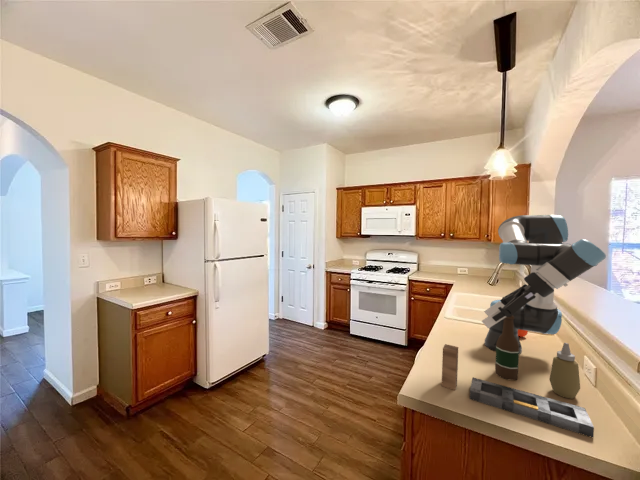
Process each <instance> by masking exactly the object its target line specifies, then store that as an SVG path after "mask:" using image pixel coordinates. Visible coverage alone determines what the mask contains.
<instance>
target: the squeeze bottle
mask: <svg viewBox="0 0 640 480" xmlns="http://www.w3.org/2000/svg"><path fill="white" fill-rule="evenodd" d="M579 367H580V366H579V363H578V362H577V361H576V355H575V354H573V353H572V352H571V348H570V344H569V343H567V342H563V345H562V348H561V350H558V351H557V352H556V356H554V357H553V358H552V364H551V368H550V374H549V380H548V381H549V383H550V385H551V388H552V391H553V392H554V393H555V394H556V395H558V396H560V397H563V398H566V399H572V400H573V399H576V397H577V395H578V393H579V392H580V390H581V380H580V369H579Z"/></svg>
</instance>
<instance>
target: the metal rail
mask: <svg viewBox="0 0 640 480" xmlns="http://www.w3.org/2000/svg"><path fill="white" fill-rule="evenodd" d="M469 400H472V401H475V402H478V403H481V404H484V405H488V406H491V407H494V408H497V409H500V410H504V411H507V412H510V413H513V414H516V415H520V416H522V417H526V418H529V419H532V420H536V421H538V422H542V423H545V424H548V425H550V426H551V425H552V426H555V427H558V428H561V429H564V430H567V431H571V432H574V433H577V434H579V433H580V434H579V435H583V434H584V435H583V436H586V435H587V436H586V437H589V436H591V437H590V438H592V437H593V438H594V435H595V432H594V431H595V426H594V424H593V421H592V420H591V418H590V415H589V414H588V412H587V410H586V408H585V407H582V406H579V405H575V404H572V403H569V402H568V403H567V402H565V401H562V400H561V401H560V400H557V399H554V398H549V397H546V396H543V395H539V394H535V393H531V392H528V391H524V390H520V389H518V388H517V389H516V388H514V387H513V388H512V387H509V386H506V385H502V384H499V383H495V382H491V381H487V380H484V379H481V378H478V377H472V380H471V383H470V388H469Z"/></svg>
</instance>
